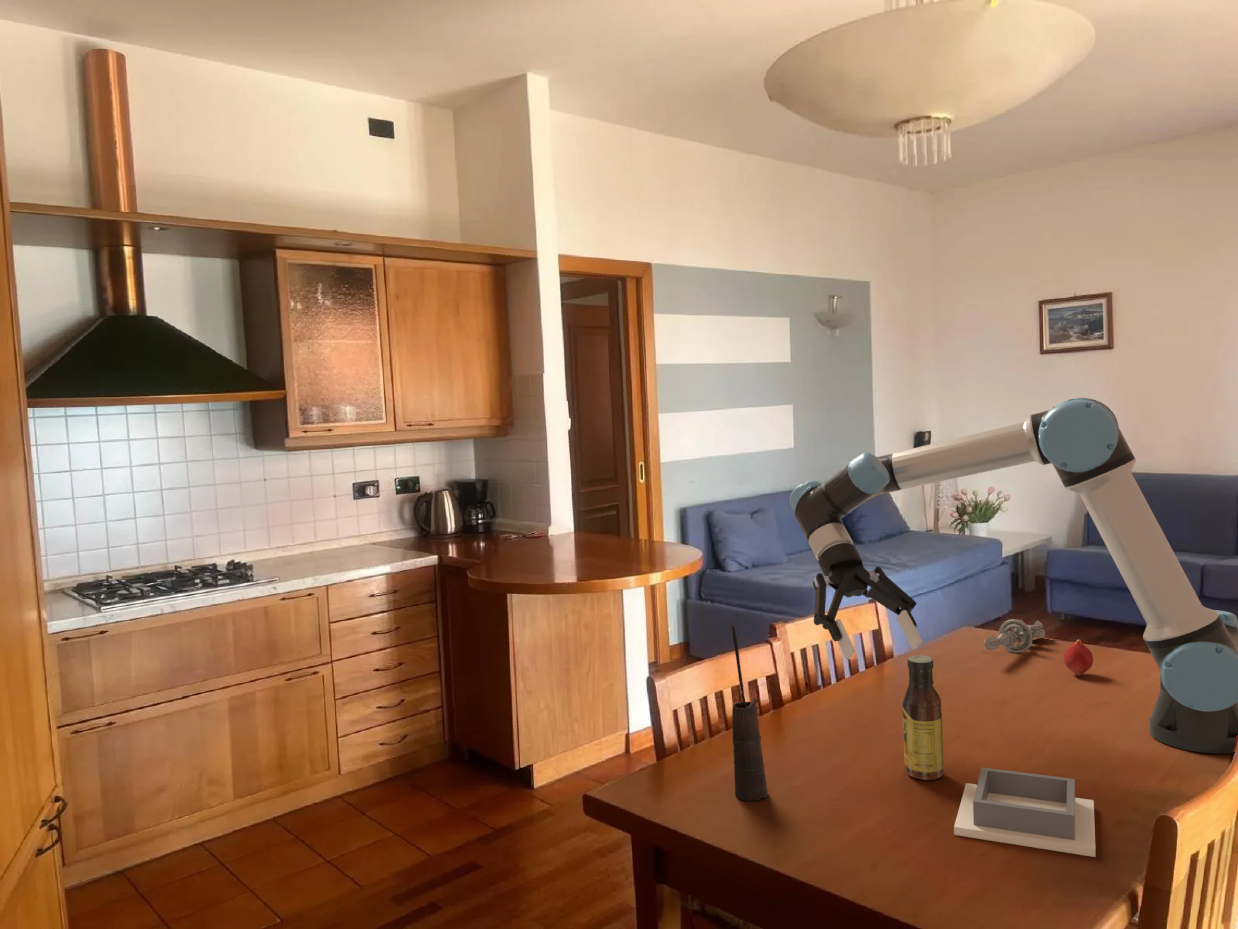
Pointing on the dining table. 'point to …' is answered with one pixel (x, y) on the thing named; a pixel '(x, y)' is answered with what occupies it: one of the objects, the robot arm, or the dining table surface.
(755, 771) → the butter churn
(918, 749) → the sauce bottle
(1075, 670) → the onion
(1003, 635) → the spaceship
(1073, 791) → the bottle stand
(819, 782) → the dining table surface
